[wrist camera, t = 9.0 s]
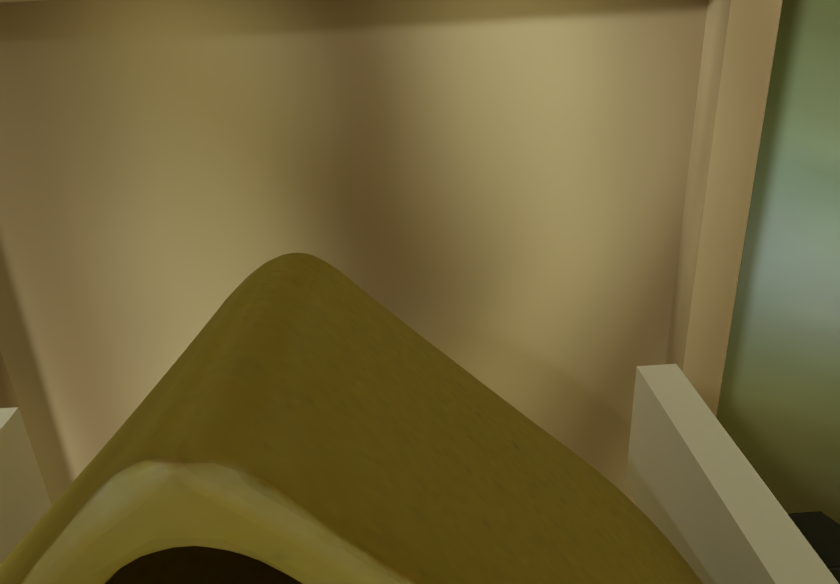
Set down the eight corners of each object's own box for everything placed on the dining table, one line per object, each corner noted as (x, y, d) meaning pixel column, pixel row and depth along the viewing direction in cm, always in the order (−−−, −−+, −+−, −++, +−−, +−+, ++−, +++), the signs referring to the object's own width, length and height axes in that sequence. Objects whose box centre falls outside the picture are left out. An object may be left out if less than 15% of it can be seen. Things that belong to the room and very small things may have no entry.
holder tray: (67, 621, 21) (46, 667, 20) (-172, -49, 14) (-233, -51, 12) (665, 575, 22) (684, 616, 20) (757, -93, 14) (797, -98, 13)
